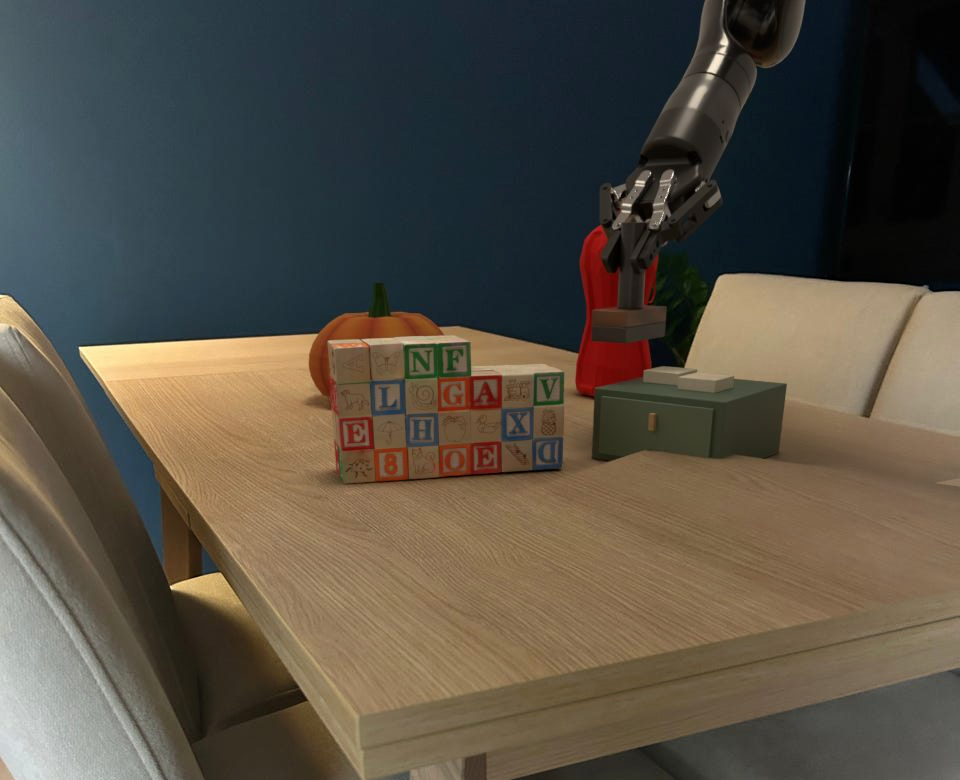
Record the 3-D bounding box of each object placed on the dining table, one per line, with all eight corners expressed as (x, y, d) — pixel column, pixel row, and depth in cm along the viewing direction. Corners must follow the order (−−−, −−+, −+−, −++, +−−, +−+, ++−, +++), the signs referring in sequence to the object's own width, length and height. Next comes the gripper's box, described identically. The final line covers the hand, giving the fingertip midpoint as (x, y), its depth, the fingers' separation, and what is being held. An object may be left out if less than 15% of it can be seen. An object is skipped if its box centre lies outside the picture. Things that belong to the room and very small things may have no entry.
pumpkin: (398, 384, 145) (394, 277, 139) (482, 400, 131) (482, 282, 125) (285, 399, 133) (275, 283, 127) (365, 418, 120) (358, 289, 114)
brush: (631, 334, 103) (637, 222, 99) (664, 336, 101) (672, 222, 97) (590, 341, 98) (595, 222, 93) (625, 343, 95) (631, 222, 91)
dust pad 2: (733, 388, 95) (734, 375, 95) (714, 393, 92) (716, 380, 92) (696, 384, 97) (697, 372, 97) (677, 389, 95) (678, 376, 94)
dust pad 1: (696, 381, 99) (697, 369, 99) (677, 385, 97) (678, 373, 96) (662, 377, 102) (662, 366, 101) (642, 382, 99) (643, 370, 98)
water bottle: (669, 395, 134) (683, 197, 124) (604, 402, 129) (614, 196, 119) (628, 387, 141) (639, 198, 132) (566, 393, 136) (571, 198, 127)
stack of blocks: (544, 456, 99) (546, 331, 94) (563, 470, 94) (567, 337, 89) (334, 469, 94) (325, 337, 90) (341, 484, 89) (333, 345, 84)
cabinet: (779, 452, 100) (787, 383, 98) (714, 479, 90) (721, 403, 87) (659, 436, 108) (664, 372, 106) (587, 459, 98) (589, 388, 95)
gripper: (619, 109, 100) (548, 238, 96) (745, 98, 92) (674, 239, 88) (642, 167, 106) (576, 292, 102) (763, 162, 98) (696, 298, 94)
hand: (622, 267), depth 95 cm, fingers closed on brush, 2 cm apart
